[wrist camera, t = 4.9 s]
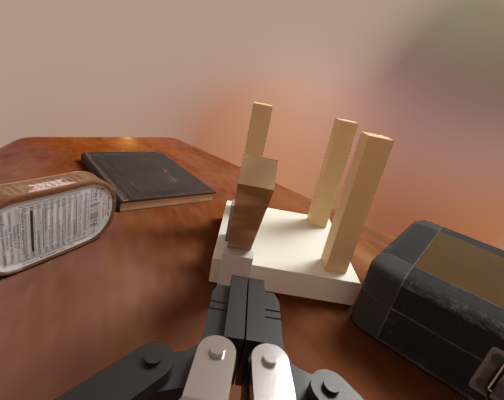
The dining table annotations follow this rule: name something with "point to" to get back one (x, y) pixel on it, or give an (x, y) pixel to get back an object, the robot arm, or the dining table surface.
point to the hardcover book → (146, 179)
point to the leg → (251, 200)
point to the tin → (51, 217)
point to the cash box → (439, 307)
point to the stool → (309, 221)
